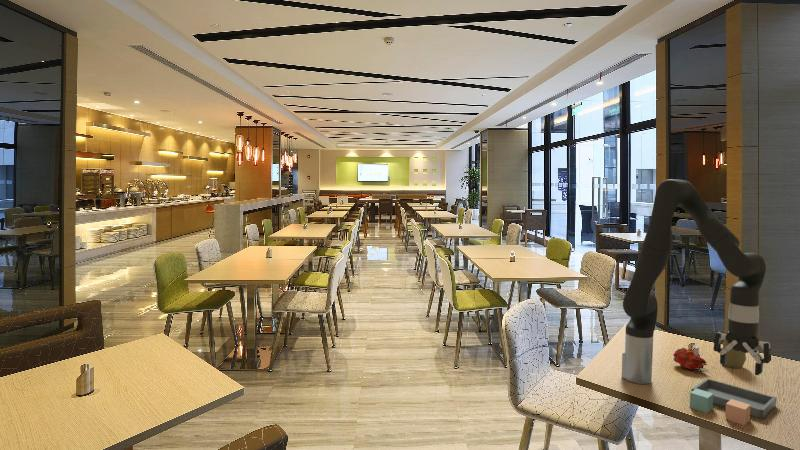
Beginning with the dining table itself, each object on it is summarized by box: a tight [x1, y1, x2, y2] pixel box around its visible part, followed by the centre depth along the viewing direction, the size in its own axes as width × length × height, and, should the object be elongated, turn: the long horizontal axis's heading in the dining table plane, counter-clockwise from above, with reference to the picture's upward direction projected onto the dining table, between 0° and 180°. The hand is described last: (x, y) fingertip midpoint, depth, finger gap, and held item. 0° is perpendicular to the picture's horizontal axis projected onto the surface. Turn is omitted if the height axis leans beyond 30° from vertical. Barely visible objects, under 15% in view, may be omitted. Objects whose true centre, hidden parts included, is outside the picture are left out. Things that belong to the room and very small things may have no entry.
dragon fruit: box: [673, 347, 708, 372], centre depth 187 cm, size 8×8×12 cm
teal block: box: [689, 388, 714, 414], centre depth 155 cm, size 5×5×5 cm
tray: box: [690, 377, 777, 421], centre depth 159 cm, size 20×14×3 cm
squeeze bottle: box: [722, 338, 747, 369], centre depth 189 cm, size 8×8×18 cm
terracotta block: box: [724, 399, 751, 426], centre depth 147 cm, size 5×5×5 cm
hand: (740, 370), depth 146 cm, fingers open, 8 cm apart
